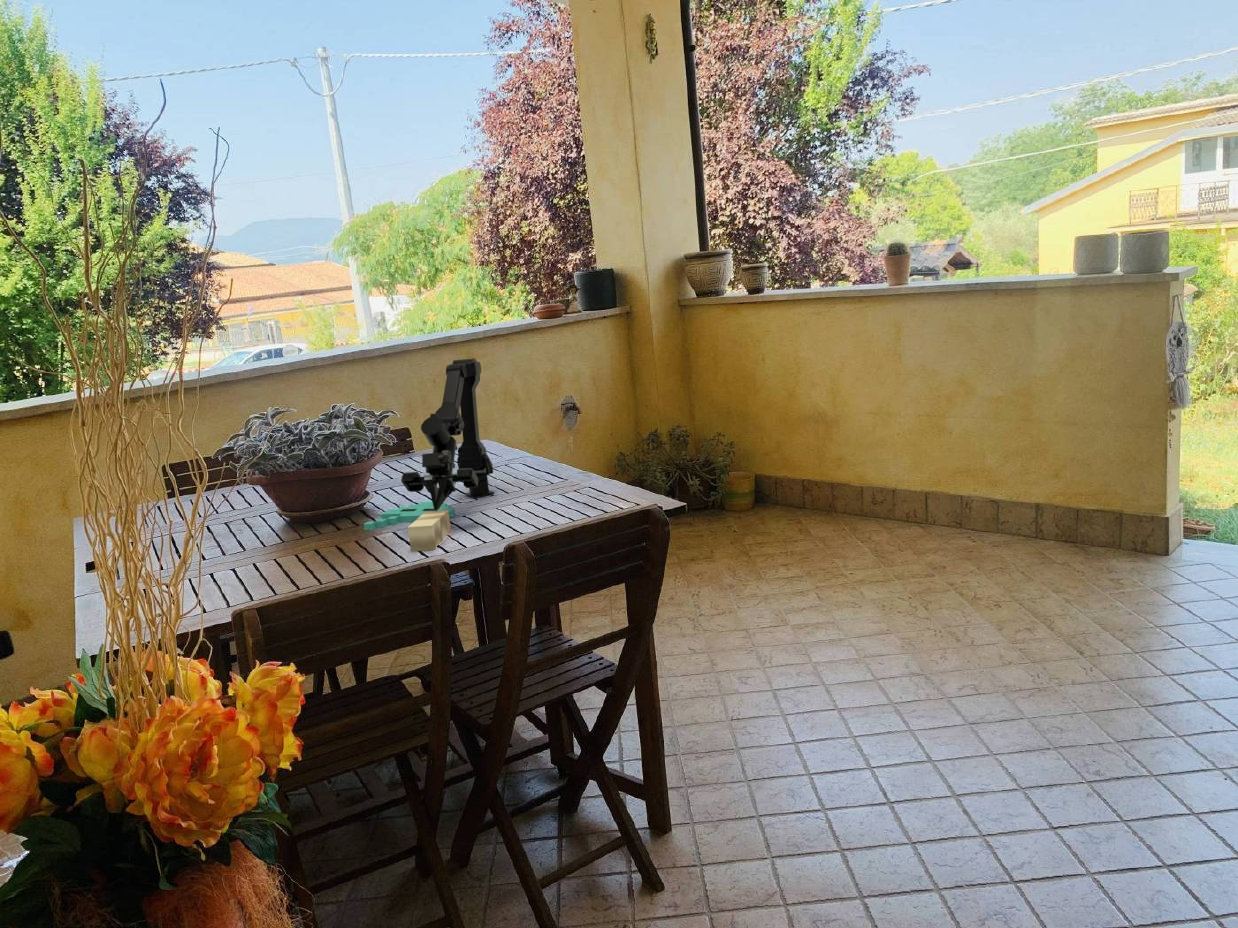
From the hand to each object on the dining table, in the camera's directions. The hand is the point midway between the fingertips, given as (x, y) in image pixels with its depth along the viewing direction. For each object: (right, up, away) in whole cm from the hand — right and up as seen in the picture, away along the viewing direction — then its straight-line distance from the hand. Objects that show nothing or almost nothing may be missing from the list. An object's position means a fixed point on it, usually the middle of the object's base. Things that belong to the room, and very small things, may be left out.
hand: (435, 509), depth 229 cm
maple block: (0, -3, +1) cm, 4 cm away
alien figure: (-9, -4, +19) cm, 21 cm away
